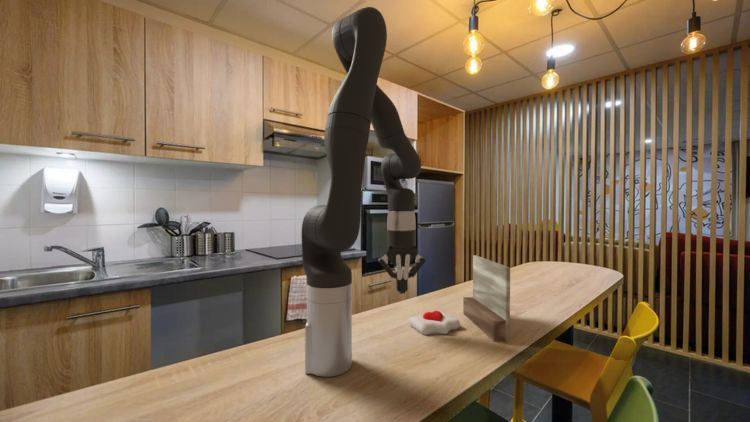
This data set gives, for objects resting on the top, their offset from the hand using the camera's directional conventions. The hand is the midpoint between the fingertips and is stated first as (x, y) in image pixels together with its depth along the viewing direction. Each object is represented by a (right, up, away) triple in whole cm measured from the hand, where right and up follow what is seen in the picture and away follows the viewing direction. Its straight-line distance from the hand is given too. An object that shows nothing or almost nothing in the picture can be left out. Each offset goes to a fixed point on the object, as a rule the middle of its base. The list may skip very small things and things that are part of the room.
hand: (402, 292), depth 83 cm
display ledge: (+22, -10, +3) cm, 25 cm away
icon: (+9, -11, +2) cm, 14 cm away
